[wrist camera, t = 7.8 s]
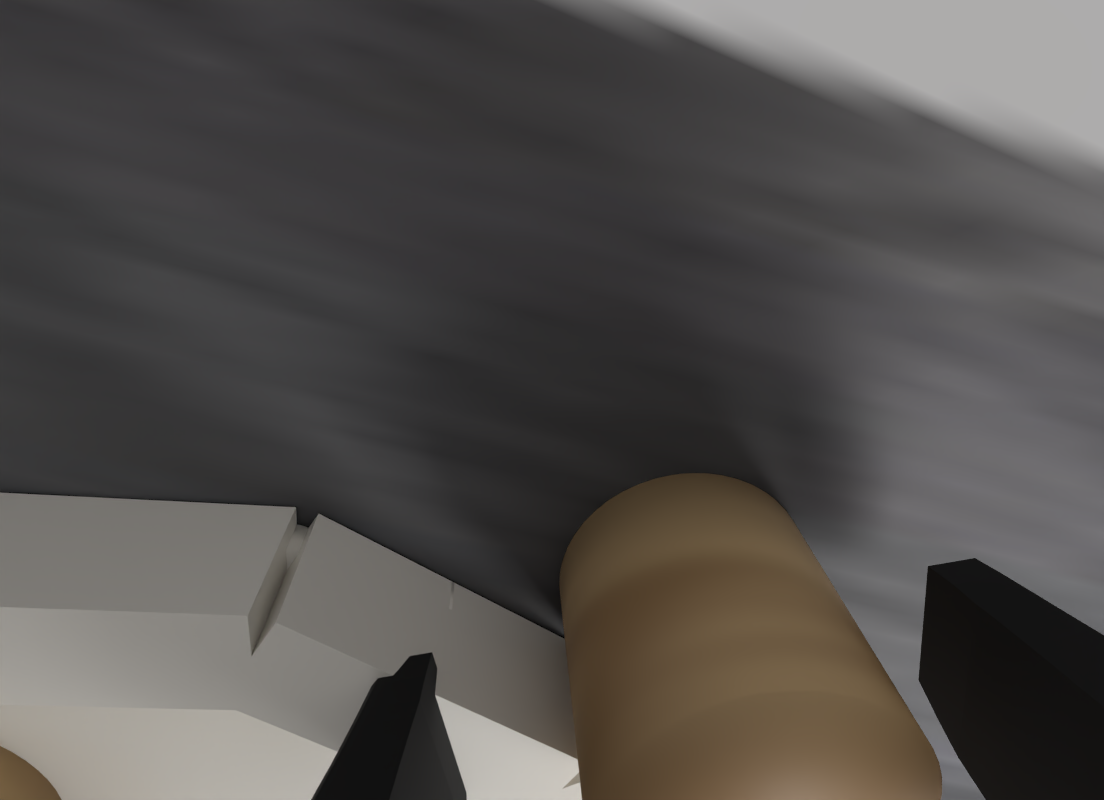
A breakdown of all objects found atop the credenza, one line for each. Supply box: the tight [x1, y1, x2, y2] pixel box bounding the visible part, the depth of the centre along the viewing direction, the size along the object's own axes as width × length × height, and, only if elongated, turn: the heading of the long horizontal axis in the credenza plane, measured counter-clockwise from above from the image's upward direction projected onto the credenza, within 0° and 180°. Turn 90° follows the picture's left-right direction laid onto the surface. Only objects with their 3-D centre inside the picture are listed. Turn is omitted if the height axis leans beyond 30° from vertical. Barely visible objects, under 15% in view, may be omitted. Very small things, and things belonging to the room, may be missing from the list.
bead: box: [559, 473, 942, 800], centre depth 10 cm, size 4×4×4 cm
